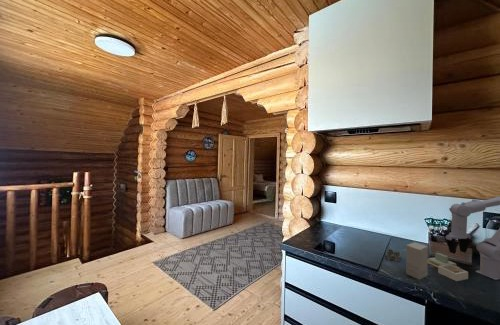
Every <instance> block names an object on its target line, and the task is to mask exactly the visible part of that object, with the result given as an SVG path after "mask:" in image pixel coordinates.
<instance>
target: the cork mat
mask: <svg viewBox="0 0 500 325" xmlns="http://www.w3.org/2000/svg"><path fill="white" fill-rule="evenodd" d="M428 264H429V265H430V266H433V267H434V268H435V267H436V268H437V269H438V266H439V265H437V264H435V263H433V262H431V261H429V260H428ZM455 267H457V268H460V269H461V267H460V266H457V265H456V266H455Z"/></svg>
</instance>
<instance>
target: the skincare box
mask: <svg viewBox="0 0 500 325" xmlns="http://www.w3.org/2000/svg"><path fill="white" fill-rule="evenodd" d="M428 252H429V246H428V245H425V244H422V243H419V242H415V241H414V242H411V243H408V244H406V251H405V254H406V257H405V259H406V260H405V274H406V275H408V276H410V277H412V278H414V279H417V280H422V279H424V278H426V277H427V276H428V257H429V256H428V255H429V253H428Z"/></svg>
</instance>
